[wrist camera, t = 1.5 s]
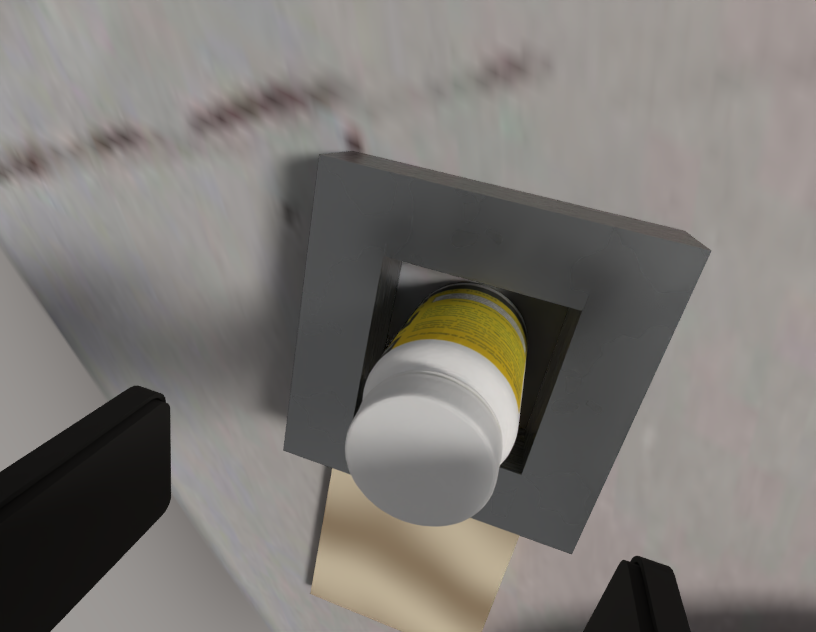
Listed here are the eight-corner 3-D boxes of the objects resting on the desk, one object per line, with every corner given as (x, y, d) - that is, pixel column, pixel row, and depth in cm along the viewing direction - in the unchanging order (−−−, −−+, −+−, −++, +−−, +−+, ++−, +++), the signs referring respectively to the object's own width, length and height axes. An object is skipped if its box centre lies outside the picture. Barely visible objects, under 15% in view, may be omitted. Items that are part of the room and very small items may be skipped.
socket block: (569, 500, 21) (571, 554, 19) (314, 413, 23) (283, 450, 21) (685, 230, 17) (711, 250, 14) (353, 150, 19) (319, 154, 16)
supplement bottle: (416, 271, 20) (331, 360, 12) (538, 289, 19) (529, 400, 11) (407, 378, 21) (328, 515, 14) (518, 400, 20) (499, 561, 13)
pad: (472, 648, 26) (470, 659, 25) (315, 584, 27) (310, 593, 27) (521, 522, 22) (520, 531, 22) (337, 456, 24) (332, 464, 23)
